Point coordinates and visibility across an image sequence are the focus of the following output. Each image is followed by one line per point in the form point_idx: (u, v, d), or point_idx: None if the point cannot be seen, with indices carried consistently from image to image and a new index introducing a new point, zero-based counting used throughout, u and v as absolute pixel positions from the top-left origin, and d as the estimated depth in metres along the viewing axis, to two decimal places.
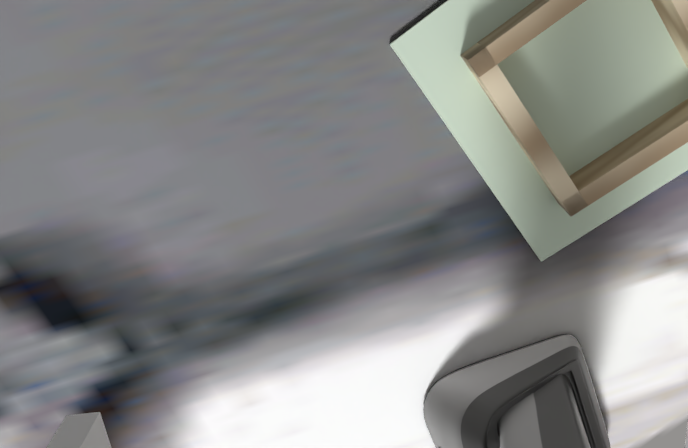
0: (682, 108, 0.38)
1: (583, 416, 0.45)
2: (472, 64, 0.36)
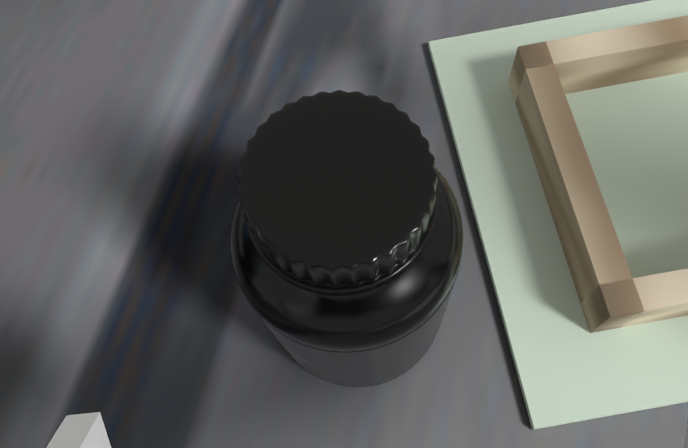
0: None
1: None
2: (619, 313, 0.22)
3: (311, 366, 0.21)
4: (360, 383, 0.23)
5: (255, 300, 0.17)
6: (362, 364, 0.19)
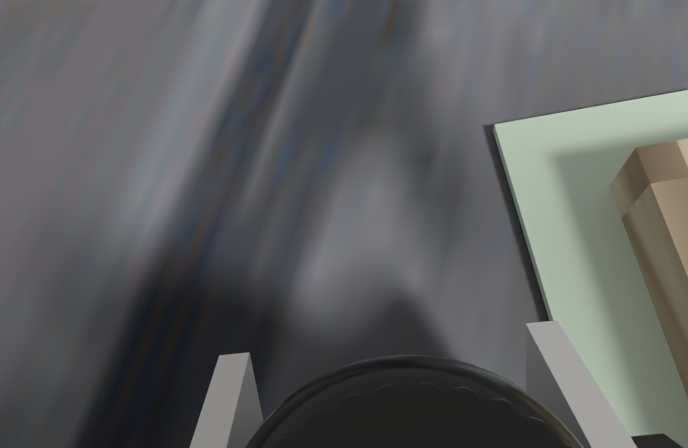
0: None
1: None
2: None
3: None
4: None
5: None
6: None
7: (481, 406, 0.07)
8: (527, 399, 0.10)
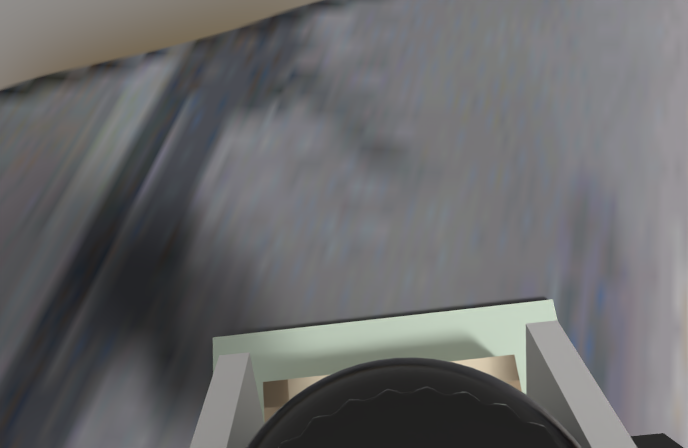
0: None
1: None
2: None
3: None
4: None
5: None
6: None
7: (482, 411, 0.07)
8: (528, 403, 0.10)
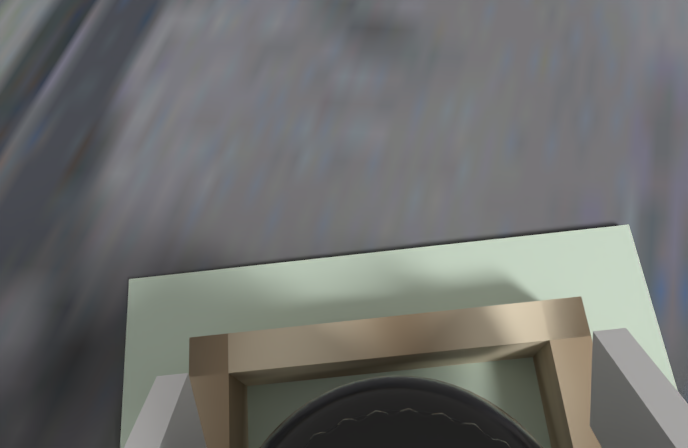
0: (548, 403, 0.19)
1: None
2: None
3: None
4: None
5: None
6: None
7: (454, 430, 0.08)
8: (502, 417, 0.12)
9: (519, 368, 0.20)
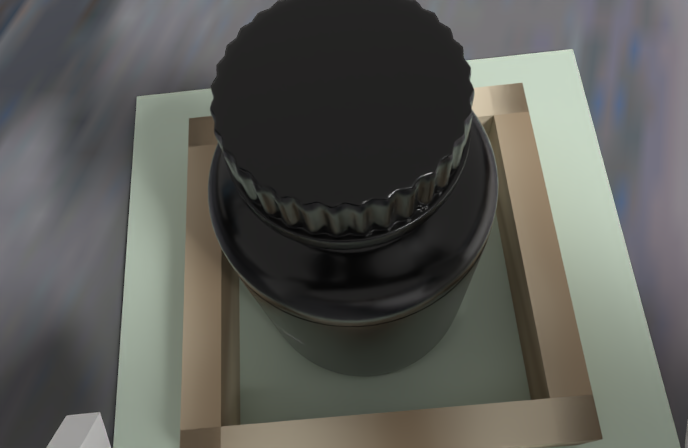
0: None
1: None
2: None
3: (307, 349, 0.18)
4: (365, 371, 0.19)
5: (236, 259, 0.14)
6: (369, 345, 0.16)
7: None
8: None
9: None
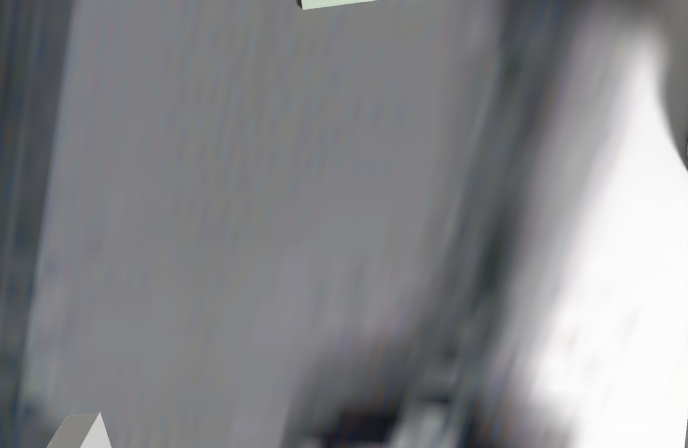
0: None
1: None
2: None
3: None
4: None
5: None
6: None
7: None
8: None
9: None
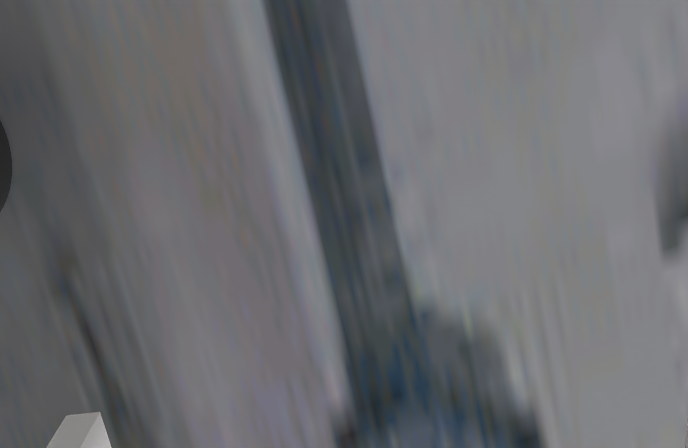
0: None
1: None
2: None
3: None
4: None
5: None
6: None
7: None
8: None
9: None
